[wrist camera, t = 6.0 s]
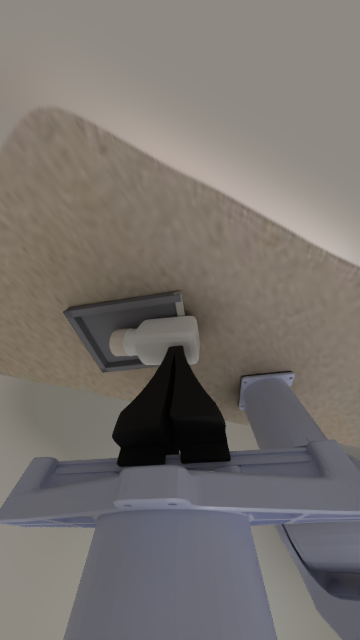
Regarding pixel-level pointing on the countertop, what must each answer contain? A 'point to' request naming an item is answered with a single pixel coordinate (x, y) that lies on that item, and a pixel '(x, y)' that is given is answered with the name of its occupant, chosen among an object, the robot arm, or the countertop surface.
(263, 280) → the countertop surface
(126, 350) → the pepper shaker
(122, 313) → the tray
